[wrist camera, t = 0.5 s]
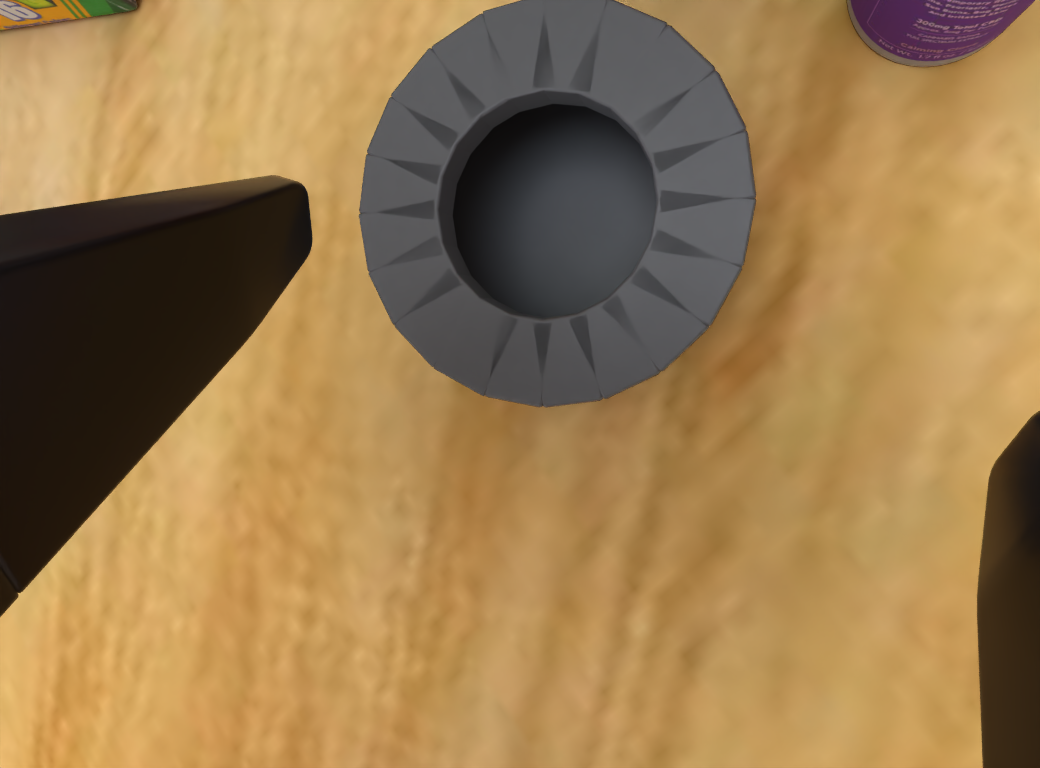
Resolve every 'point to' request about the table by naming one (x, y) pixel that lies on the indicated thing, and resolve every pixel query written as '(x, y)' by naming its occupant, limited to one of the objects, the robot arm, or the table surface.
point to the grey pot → (557, 201)
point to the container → (931, 27)
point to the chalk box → (56, 10)
